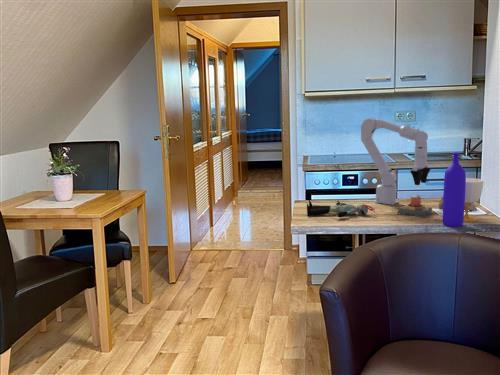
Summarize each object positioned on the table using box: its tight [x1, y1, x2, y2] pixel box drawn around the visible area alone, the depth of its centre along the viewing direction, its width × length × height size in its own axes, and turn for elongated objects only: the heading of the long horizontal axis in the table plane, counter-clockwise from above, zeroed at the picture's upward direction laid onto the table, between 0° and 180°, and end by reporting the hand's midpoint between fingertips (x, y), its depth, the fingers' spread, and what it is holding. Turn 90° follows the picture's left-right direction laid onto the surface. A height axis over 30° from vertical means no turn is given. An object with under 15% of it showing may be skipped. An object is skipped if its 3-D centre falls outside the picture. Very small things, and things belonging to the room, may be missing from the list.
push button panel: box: [398, 203, 433, 218], centre depth 233 cm, size 12×9×4 cm
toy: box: [306, 199, 375, 218], centre depth 235 cm, size 26×8×30 cm
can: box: [409, 194, 422, 207], centre depth 233 cm, size 4×4×6 cm
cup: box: [463, 177, 484, 222], centre depth 220 cm, size 12×12×17 cm
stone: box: [438, 196, 477, 212], centre depth 241 cm, size 17×10×10 cm
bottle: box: [442, 151, 467, 228], centre depth 209 cm, size 8×8×30 cm
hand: (420, 183), depth 250 cm, fingers open, 7 cm apart
